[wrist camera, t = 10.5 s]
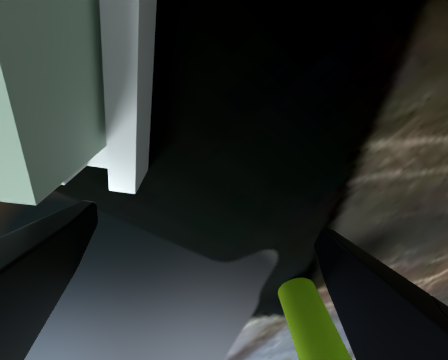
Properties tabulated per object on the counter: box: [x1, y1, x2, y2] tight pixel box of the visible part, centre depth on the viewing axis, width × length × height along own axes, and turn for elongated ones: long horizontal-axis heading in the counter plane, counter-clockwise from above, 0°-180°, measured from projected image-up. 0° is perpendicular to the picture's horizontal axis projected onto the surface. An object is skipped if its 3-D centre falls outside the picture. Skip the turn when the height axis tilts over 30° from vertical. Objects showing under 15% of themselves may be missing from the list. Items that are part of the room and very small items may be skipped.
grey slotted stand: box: [62, 0, 157, 194], centre depth 15 cm, size 7×16×4 cm, turn 168°
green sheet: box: [0, 0, 107, 205], centre depth 11 cm, size 2×10×10 cm, turn 167°
